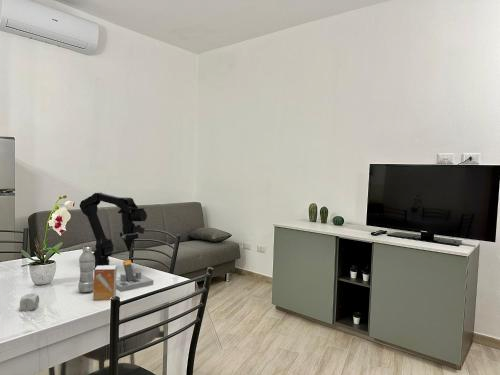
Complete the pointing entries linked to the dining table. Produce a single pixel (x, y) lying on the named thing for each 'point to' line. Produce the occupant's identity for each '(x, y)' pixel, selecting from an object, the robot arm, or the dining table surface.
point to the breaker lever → (128, 271)
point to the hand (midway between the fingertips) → (129, 251)
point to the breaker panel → (138, 283)
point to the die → (29, 302)
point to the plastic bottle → (86, 270)
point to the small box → (104, 282)
